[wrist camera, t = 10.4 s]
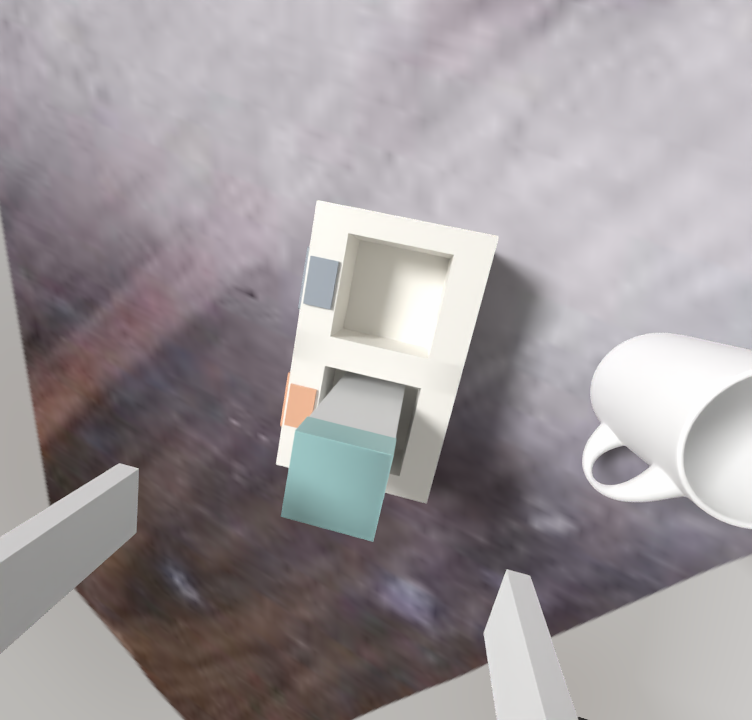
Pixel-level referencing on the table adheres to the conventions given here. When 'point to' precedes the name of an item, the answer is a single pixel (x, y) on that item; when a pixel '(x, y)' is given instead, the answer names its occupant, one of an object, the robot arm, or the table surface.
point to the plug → (345, 456)
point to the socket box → (387, 325)
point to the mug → (678, 422)
